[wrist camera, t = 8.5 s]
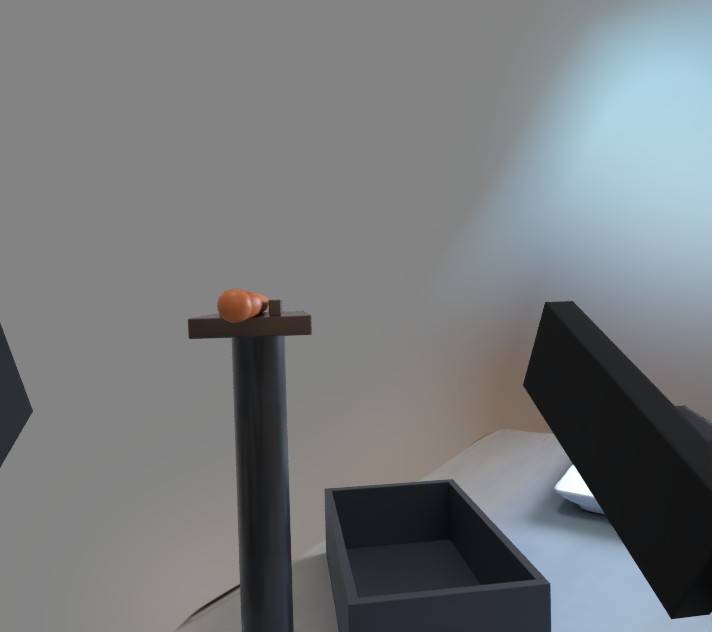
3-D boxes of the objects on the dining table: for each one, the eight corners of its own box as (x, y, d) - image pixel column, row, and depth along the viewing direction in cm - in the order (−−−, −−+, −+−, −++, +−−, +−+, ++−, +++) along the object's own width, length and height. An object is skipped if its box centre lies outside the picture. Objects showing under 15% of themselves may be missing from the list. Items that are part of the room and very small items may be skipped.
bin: (326, 552, 61) (324, 488, 61) (454, 540, 63) (452, 479, 63) (351, 706, 38) (348, 604, 38) (552, 680, 40) (550, 583, 40)
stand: (215, 732, 36) (199, 302, 35) (330, 717, 37) (318, 299, 36) (188, 896, 26) (165, 302, 25) (346, 869, 27) (330, 298, 26)
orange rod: (252, 312, 38) (252, 295, 37) (269, 311, 38) (269, 295, 38) (215, 323, 18) (214, 288, 18) (251, 322, 18) (250, 288, 18)
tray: (705, 468, 86) (705, 448, 86) (701, 544, 61) (700, 515, 61) (595, 454, 96) (595, 435, 96) (551, 514, 70) (550, 488, 70)
